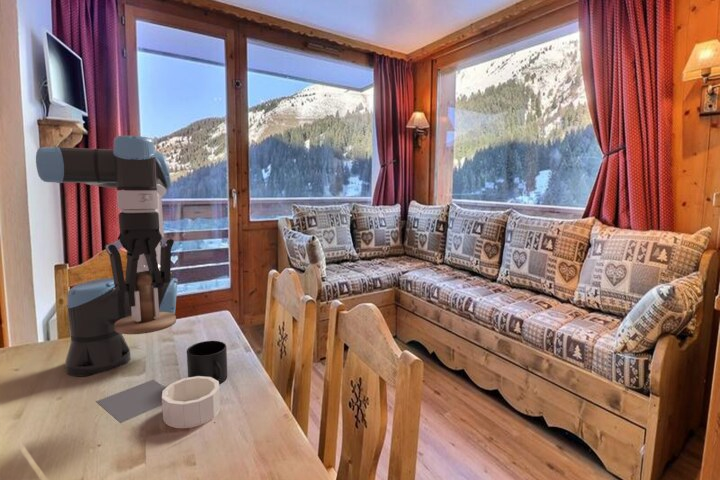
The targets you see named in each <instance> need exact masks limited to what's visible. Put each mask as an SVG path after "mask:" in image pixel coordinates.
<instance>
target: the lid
mask: <svg viewBox="0 0 720 480" xmlns="http://www.w3.org/2000/svg"><path fill="white" fill-rule="evenodd" d="M152 281H153V279H152V276H151V275H150V274H149V273H147V272H140V273H138V274H137V275H136V285H135V290H136V291H139V298H140V312H141V321H139V322H137V321H135V320H133V319H132V315H131V316H128V317H125V318H122V319H120V320H118V321H116V322H115V323H114V330H115V331H116V332H117V333H121V334H122V335H143V334H144V335H145V334H149V333H155V332H159V331H162V330H166V329H169V328H170V327H173V326H174V325H175V324H176V322H177V316H176V314H172V313H168V312H159V317H154V310H153V294H152Z"/></svg>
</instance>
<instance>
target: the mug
mask: <svg viewBox="0 0 720 480" xmlns="http://www.w3.org/2000/svg"><path fill="white" fill-rule="evenodd" d="M186 363H187V378H189V377H196V376H204V377H212V378H214V379H215V380H217V381H219V386H220V385H221V384H224V382H225V381H227V379H228V355H227V345H226V343H225V342H222V341H220V340H205V341H201V342H197V343H194V344H192V345H190V346H189V347H188V348H187V349H186Z"/></svg>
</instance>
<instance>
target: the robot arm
mask: <svg viewBox="0 0 720 480" xmlns="http://www.w3.org/2000/svg"><path fill="white" fill-rule="evenodd" d="M35 165H36V170H37V175H38V177H39V178H40V180H41V181H43V182H46V183H57V184H70V183H71V184H73V183H74V184H79V183H81V184H85V185H88V186H97V187H103V188H109V189H116V197H117V200H116V201H117V209H118V210H120V211H121V212H119V213H118V227H119V229H118V230H119V235H118V237H117V240H115V241H114V242H112V243H106V244H105V245H104V249H105V251H106V252H107V254H108V255H109V260H110V266H111V272H112V277H104V278H97V279H96V278H95V279H93V280H88V281H85V282H83V283H80V284H76V285H75V286H72V287H71V288H70V289H69V290H68V291H67V297H66V299H67V305H66V308H67V315H68V320H69V321H68V323H69V332H70V344H69V349H68V352H67V355H66V357H65V363H64V365H65V372H66V373H67V374H68V375H71V376H74V377H76V376H77V377H89V376H94V375H96V374H100V373H104V372H108V371H111V370H114V369H117V368H119V367H121V366H123V365H126V364H128V363H129V361H130V360H131V350H130V347H129V345H128V343H127V341H126V340H125V337H124V334H121V333H117V332H116V331H115V330H114V323H115V322H116V321H118V320H120V319H122V318H125V317H128V316H131V315H132V319H133V320H135V321H137V322H139V321H141V312H140V298H139V291H136V290H135V285H136V275H137V274H138V273H140V272H147V273H149V274H150V275H151V276H152V279H153V281H152V294H153V310H154V317H159V312H168V313H172V314H174V315H176V306H177V294H178V293H177V292H178V278H175V277H173V273H172V272H171V269H172V268H171V267H172V266H171V265H172V264H171V263H172V262H171V260H172V258H171V257H172V248H173V246H174V243H175V242H174V241H175V240H174V239H172V238H166V237H165V234H164V230H165V229H164V219H163V218H164V215H163V200H162V198H163V197H164V196H165V195H166V194H167V190H169V189H171V187H172V183H171V175H170V169H169V165H168V162H167V158H166V156H165V154H164V153H162V152H161V151H160V152H159V151H156V150H155V142H154V140H153V139H152V138H150V137H147V136H143V135H142V136H139V135H117V136H116V137H114V138H113V149H111V148H87V147H86V148H85V147H83V148H82V147H62V146H60V147H59V146H42V147H39V148H38V149H37V150H36V155H35ZM121 246H122V247H123V249H124V250H125V251H126V269H125V274H124V268H123V263H122V257H121V253H120V252H121Z"/></svg>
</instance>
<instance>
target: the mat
mask: <svg viewBox="0 0 720 480" xmlns="http://www.w3.org/2000/svg"><path fill="white" fill-rule="evenodd" d="M166 387H167V386H166ZM166 387H165V386H164V385H162V384H161V383H159V382H158V381H156V380H155V379H150V380H148V381H145V382H143V383H140V384H138V385H136V386H132V387H129V388H128V389H125V390H121V391H120V392H119V391H118V392H117V393H114V394H112V395H108V396H107V397H106V396H105V397H104V398H101V399H97V400H96V401H95V402H96V403H97V404H98V405H99V406H101V407H102V409H104V410H105V411H106V412H108V414H110V415H111V416H112V417H113V418H114V419H115V420H117V421H118V423H121V424H122V423H125V422H126V421H129V420H131V419H134V418H136V417H138V416H140V415H142V414H145V413H146V412H149V411H151V410H153V409H155V408H158V407H161V406H162V392H163V390H164V389H165V388H166Z"/></svg>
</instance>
